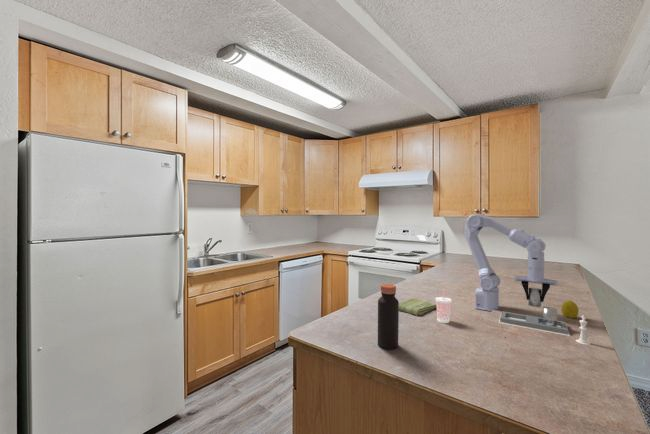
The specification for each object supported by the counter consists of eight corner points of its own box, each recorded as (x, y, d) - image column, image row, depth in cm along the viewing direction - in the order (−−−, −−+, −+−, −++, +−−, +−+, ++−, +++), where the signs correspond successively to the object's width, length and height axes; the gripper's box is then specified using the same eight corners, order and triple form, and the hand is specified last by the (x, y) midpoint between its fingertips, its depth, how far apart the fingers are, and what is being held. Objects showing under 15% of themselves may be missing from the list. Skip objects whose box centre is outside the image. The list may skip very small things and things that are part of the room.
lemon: (581, 322, 121) (581, 302, 121) (565, 321, 122) (566, 301, 122) (573, 317, 127) (573, 298, 127) (558, 316, 128) (558, 298, 128)
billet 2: (542, 327, 113) (543, 309, 113) (542, 323, 117) (542, 305, 117) (557, 330, 111) (557, 311, 111) (556, 326, 114) (556, 308, 114)
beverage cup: (453, 320, 122) (454, 286, 122) (447, 324, 118) (448, 289, 118) (438, 317, 127) (439, 284, 126) (432, 320, 122) (433, 286, 122)
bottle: (394, 351, 95) (394, 289, 95) (374, 346, 99) (374, 286, 98) (401, 343, 101) (401, 285, 100) (381, 339, 105) (382, 282, 104)
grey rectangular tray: (498, 325, 118) (498, 318, 118) (500, 315, 129) (500, 309, 128) (570, 338, 105) (570, 331, 105) (566, 327, 116) (566, 320, 116)
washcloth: (438, 308, 139) (438, 301, 139) (418, 317, 127) (419, 310, 127) (413, 302, 148) (413, 295, 148) (392, 310, 136) (392, 303, 136)
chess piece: (588, 342, 102) (588, 313, 102) (595, 349, 98) (596, 318, 97) (570, 340, 104) (571, 312, 104) (577, 346, 99) (577, 317, 99)
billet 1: (528, 305, 125) (528, 289, 125) (528, 303, 128) (528, 286, 128) (541, 307, 122) (541, 290, 122) (541, 304, 126) (541, 288, 126)
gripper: (514, 267, 126) (514, 299, 126) (558, 271, 118) (557, 306, 118) (515, 265, 132) (514, 295, 132) (556, 268, 123) (556, 301, 124)
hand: (534, 300), depth 125 cm, fingers closed on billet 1, 4 cm apart
